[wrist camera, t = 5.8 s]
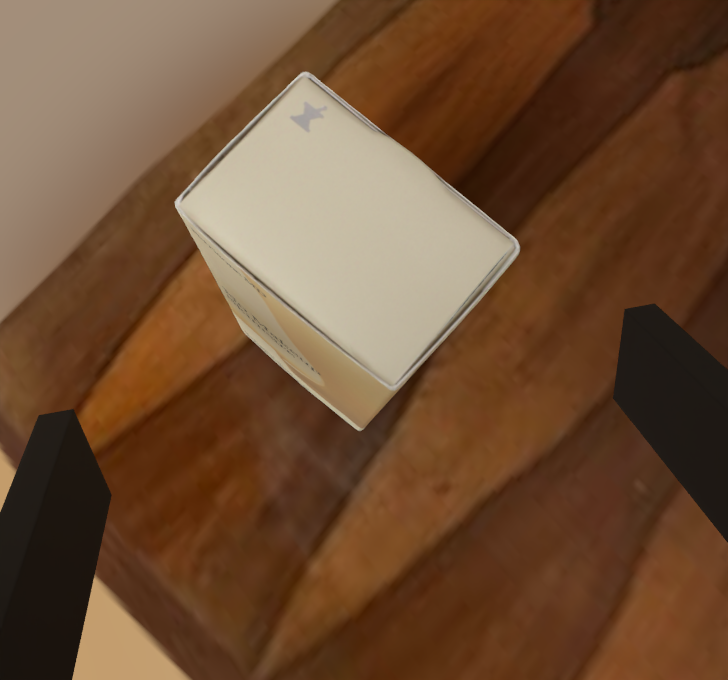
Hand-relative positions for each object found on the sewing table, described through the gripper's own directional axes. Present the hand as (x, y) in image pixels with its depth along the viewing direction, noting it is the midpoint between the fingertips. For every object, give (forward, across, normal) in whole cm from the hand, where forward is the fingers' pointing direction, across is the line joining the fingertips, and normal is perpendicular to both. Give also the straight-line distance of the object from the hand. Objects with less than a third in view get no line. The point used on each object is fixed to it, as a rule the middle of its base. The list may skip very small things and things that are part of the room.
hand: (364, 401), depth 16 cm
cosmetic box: (+9, 0, -4) cm, 10 cm away
